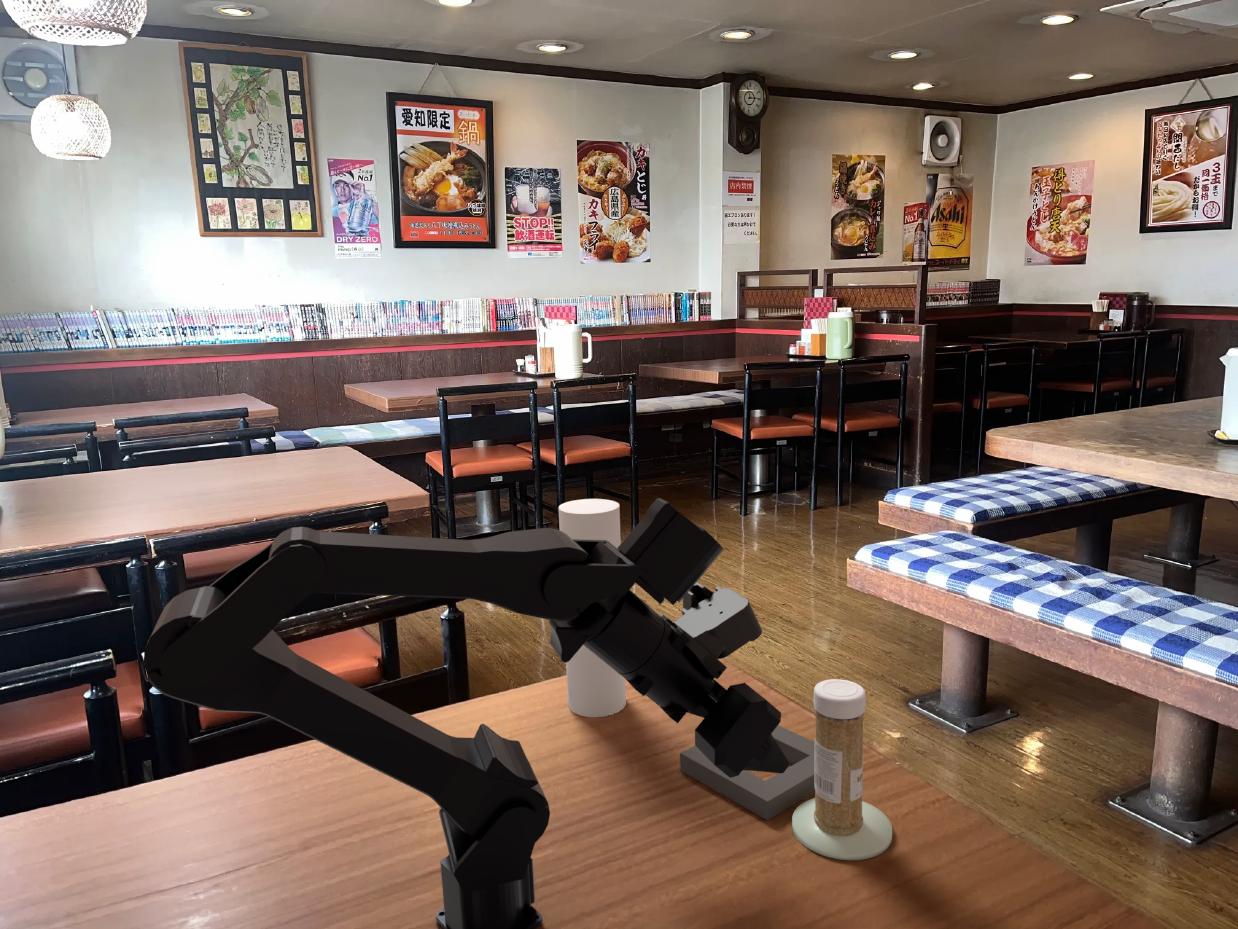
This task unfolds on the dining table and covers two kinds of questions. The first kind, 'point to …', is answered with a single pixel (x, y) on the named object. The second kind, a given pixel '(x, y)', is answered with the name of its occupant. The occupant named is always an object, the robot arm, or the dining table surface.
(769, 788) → the holder
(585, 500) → the cylindrical container
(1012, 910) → the dining table surface
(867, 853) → the coaster
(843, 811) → the sprinkles bottle
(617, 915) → the dining table surface
